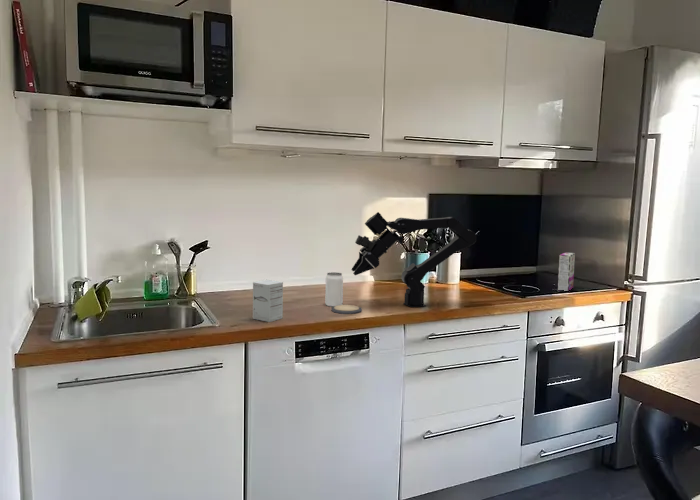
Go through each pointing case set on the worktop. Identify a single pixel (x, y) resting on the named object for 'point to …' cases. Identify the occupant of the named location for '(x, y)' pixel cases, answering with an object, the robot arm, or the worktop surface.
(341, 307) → the trivet
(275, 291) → the supplement box
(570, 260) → the candy bar box
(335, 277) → the can
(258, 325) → the worktop surface
